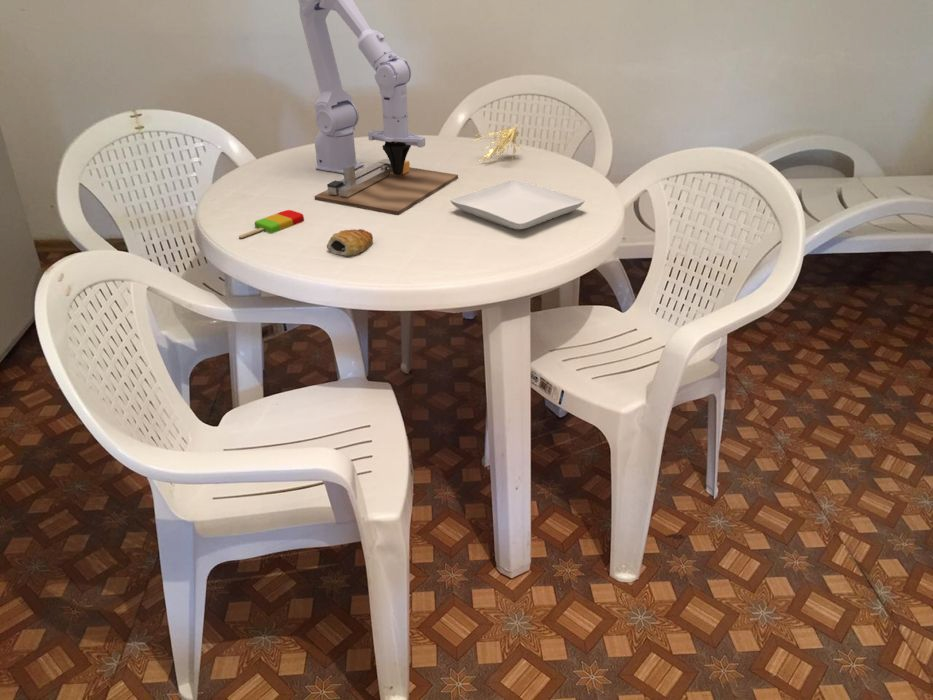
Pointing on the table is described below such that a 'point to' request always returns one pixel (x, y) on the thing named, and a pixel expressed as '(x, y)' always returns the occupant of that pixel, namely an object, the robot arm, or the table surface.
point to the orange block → (406, 167)
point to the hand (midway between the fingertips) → (398, 173)
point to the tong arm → (360, 179)
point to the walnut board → (394, 191)
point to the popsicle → (276, 222)
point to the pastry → (350, 242)
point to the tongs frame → (357, 176)
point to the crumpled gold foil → (502, 141)
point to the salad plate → (517, 204)
